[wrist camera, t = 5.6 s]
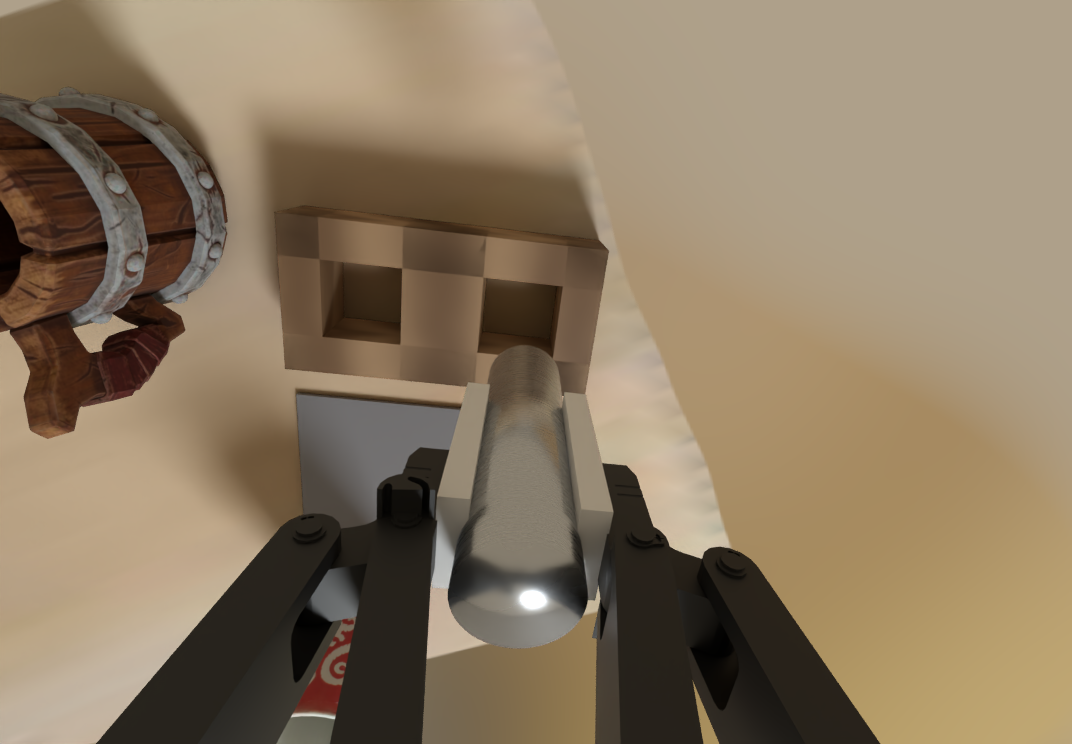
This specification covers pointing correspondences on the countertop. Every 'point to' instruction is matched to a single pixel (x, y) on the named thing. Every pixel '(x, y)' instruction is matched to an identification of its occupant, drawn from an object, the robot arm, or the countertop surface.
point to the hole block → (429, 296)
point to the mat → (361, 449)
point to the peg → (520, 514)
